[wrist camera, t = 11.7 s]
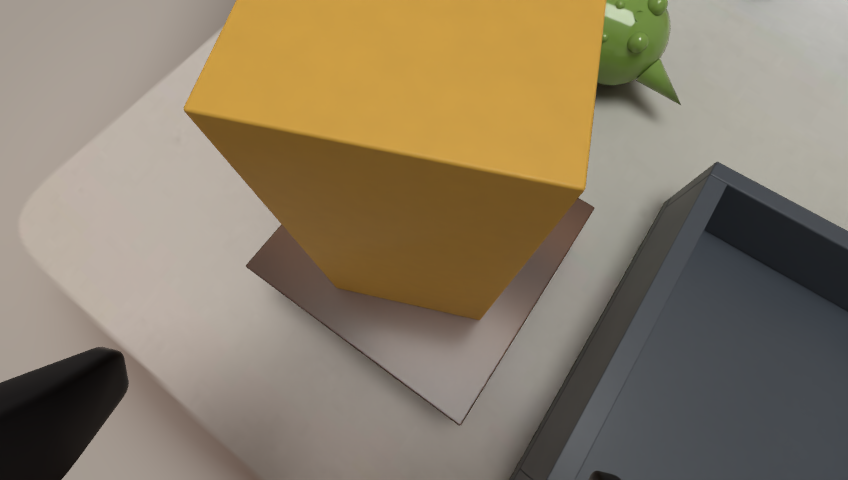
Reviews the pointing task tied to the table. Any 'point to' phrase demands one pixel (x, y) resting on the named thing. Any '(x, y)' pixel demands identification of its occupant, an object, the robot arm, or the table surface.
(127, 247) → the table surface
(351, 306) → the square wooden tile
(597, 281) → the table surface
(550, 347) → the table surface
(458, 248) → the puzzle block
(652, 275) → the tray
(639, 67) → the character figure
